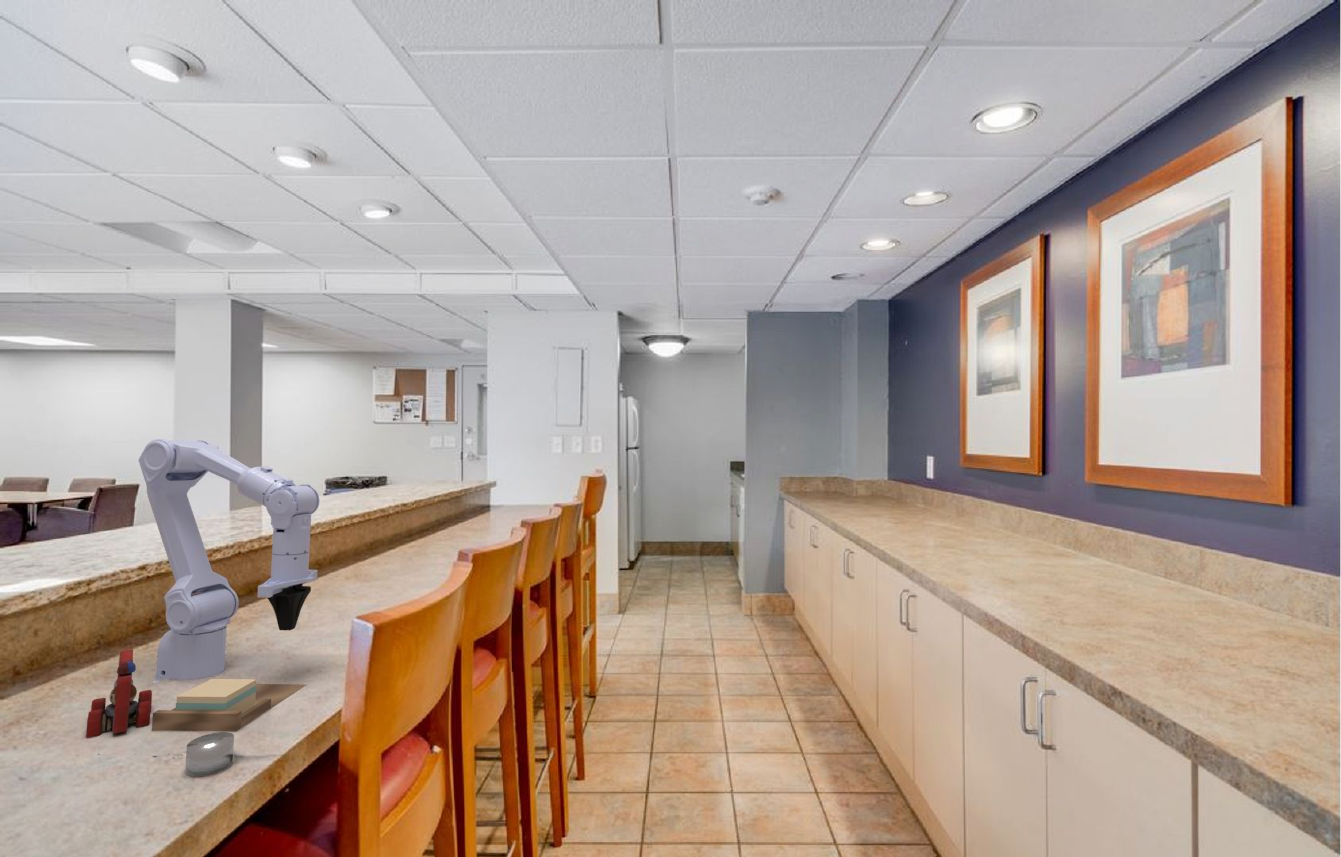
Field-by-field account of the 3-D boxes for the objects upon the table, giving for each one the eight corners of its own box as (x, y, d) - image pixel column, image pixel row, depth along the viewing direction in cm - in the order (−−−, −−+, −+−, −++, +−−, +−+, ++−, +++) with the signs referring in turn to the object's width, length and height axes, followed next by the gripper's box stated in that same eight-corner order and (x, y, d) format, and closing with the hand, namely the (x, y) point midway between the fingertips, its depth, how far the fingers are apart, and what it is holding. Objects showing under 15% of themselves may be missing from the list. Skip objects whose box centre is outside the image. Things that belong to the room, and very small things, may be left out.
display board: (151, 737, 88) (152, 712, 88) (236, 689, 106) (237, 669, 106) (235, 738, 88) (237, 713, 88) (306, 690, 106) (307, 669, 106)
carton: (174, 727, 89) (176, 696, 89) (209, 707, 96) (211, 678, 96) (223, 728, 89) (225, 697, 89) (255, 708, 96) (257, 679, 96)
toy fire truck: (83, 751, 83) (88, 674, 84) (91, 720, 93) (95, 651, 93) (149, 737, 88) (154, 664, 88) (151, 708, 97) (154, 643, 98)
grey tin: (175, 777, 77) (176, 749, 78) (204, 758, 82) (205, 731, 83) (214, 778, 78) (216, 750, 78) (241, 758, 83) (242, 732, 83)
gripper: (289, 560, 102) (285, 642, 101) (334, 546, 116) (331, 618, 116) (246, 559, 101) (242, 641, 101) (297, 546, 116) (293, 618, 115)
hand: (287, 629), depth 108 cm, fingers closed
